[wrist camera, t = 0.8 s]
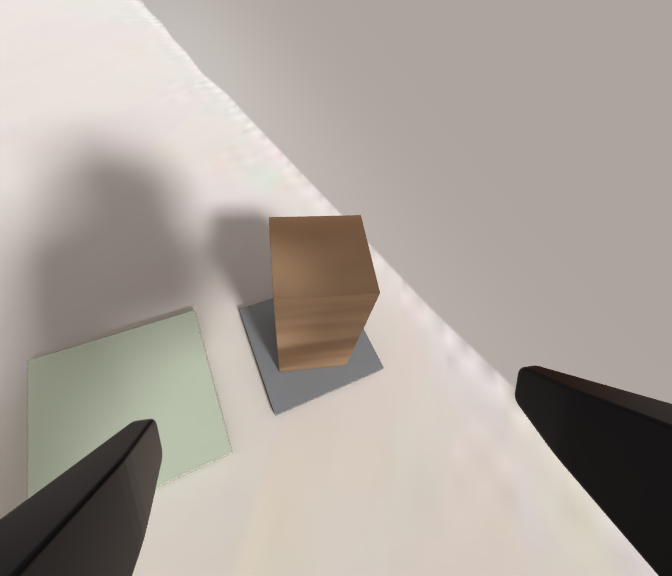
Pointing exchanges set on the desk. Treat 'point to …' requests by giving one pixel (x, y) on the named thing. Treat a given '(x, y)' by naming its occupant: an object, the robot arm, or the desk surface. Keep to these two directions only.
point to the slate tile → (300, 384)
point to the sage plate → (125, 399)
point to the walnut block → (320, 288)
